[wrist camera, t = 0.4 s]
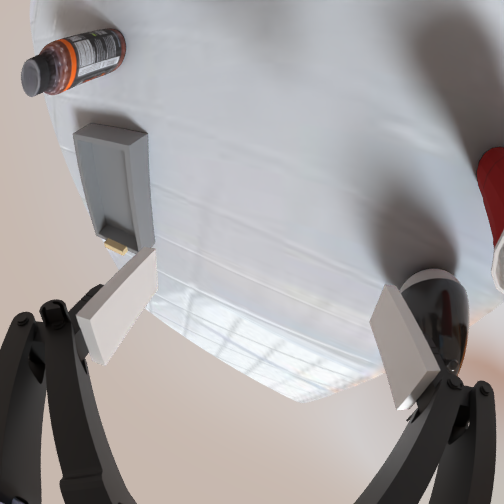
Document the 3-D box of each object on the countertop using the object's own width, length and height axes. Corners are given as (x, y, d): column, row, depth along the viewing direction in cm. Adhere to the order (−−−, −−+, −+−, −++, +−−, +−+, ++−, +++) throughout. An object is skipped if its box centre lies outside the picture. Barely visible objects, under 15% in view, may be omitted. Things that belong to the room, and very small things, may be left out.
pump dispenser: (473, 257, 24) (496, 374, 14) (447, 309, 31) (451, 408, 21) (401, 250, 28) (404, 375, 18) (386, 304, 35) (377, 407, 25)
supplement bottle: (95, 74, 23) (20, 108, 16) (93, 32, 19) (13, 57, 11) (129, 70, 22) (47, 104, 15) (128, 23, 18) (40, 42, 10)
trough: (90, 123, 29) (66, 137, 26) (147, 133, 28) (122, 150, 25) (108, 223, 43) (92, 240, 40) (155, 243, 42) (139, 263, 39)
